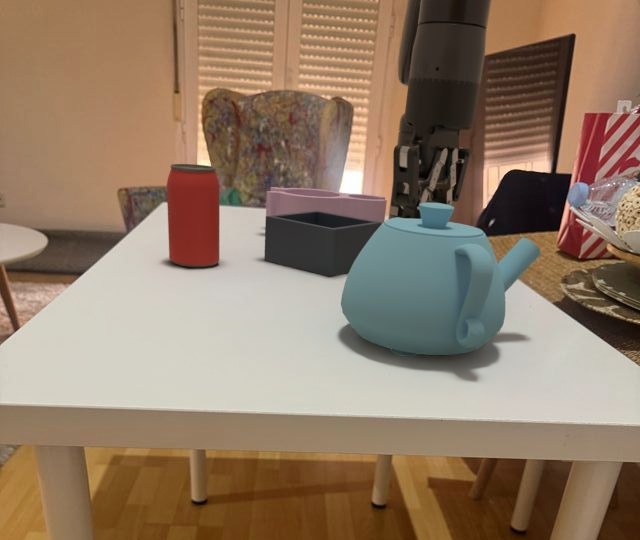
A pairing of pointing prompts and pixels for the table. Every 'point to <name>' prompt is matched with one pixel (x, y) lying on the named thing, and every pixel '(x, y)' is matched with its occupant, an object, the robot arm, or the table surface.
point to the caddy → (316, 240)
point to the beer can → (193, 215)
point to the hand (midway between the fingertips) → (421, 241)
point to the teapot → (431, 285)
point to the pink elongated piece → (325, 203)
